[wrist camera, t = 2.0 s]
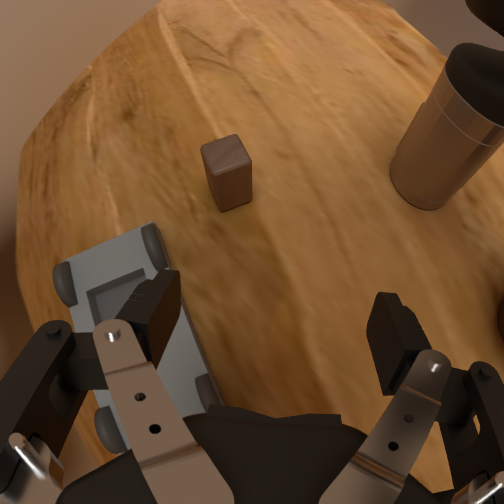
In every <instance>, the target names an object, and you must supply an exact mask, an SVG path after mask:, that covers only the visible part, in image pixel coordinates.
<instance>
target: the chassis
mask: <svg viewBox="0 0 504 504" xmlns="http://www.w3.org/2000/svg"><path fill="white" fill-rule="evenodd" d="M160 269H168V270H173V269H172V266H171V263H170V260H169V257H168V254H167V251H166V248H165V245H164V242H163V239H162V236H161V233H160V230H159V229H158V227H157V226H156V224H155V223H154V221H152V222H150V223H147V224H145V225H143V226H140V227H138V228H135V229H133V230H131V231H128V232H126V233H124V234H121V235H119V236H117V237H115V238H112V239H110V240H108V241H105V242H103V243H101V244H99V245H96V246H94V247H92V248H90V249H88V250H85V251H83V252H81V253H79V254H77V255H74V256H72V257H70V258H68V259H66V260H64V261H62V262H61V263H60V264H58V265H56V266H55V267H54V269H53V282H54V286H55V289H56V291H57V294H58V296H59V297H60V299H61V300H62V302H63V303H64V304H65V305H66V306H67V307H69V308H70V311H71V316H72V320H73V324H74V328H75V332H76V333H79V332H93V330H94V328H95V327H96V326H97V325H98V324H99V323H101V322H103V321H106V320H110V319H114V318H115V317H116V315H117V314H118V313H119V311H120V310H121V308H122V307H123V305H124V304H125V302H126V301H127V300H128V298H129V297H130V295H131V294H132V293H133V291H134V290H135V288H136V287H137V285H138V284H140V283H142V282H143V281H145V280H146V279H151V280H153V279H154V277H155V276H156V274H157V273H158V271H159V270H160ZM156 371H157V373H158V375H159V377H160V379H161V381H162V383H163V385H164V387H165V389H166V391H167V392H168V394H169V396H170V398H171V400H172V402H173V403H174V405H175V407H176V409H177V410H178V412H179V414H180V416H181V417H182V418H183V417H186V416H189V415H193V414H199V413H207V412H208V407H209V404H214V405H221V406H226V405H225V403H224V400H223V398H222V396H221V393H220V391H219V389H218V386H217V384H216V382H215V379H214V377H213V374H212V372H211V370H210V367H209V365H208V362H207V360H206V357H205V355H204V352H203V350H202V347H201V345H200V342H199V340H198V337H197V335H196V332H195V330H194V327H193V324H192V322H191V319H190V316H189V314H188V311H187V308H186V306H185V303H184V300H183V297H182V295H181V312H180V316H179V319H178V321H177V324H176V326H175V328H174V330H173V333H172V335H171V337H170V340H169V342H168V344H167V347H166V349H165V351H164V353H163V356H162V358H161V360H160V363H159V365H158V368H157V370H156ZM93 391H94V394H95V397H96V399H97V402H98V405H99V409H97V410H96V412H95V417H94V421H95V428H96V431H97V434H98V437H99V439H100V441H101V442H102V444H103V445H104V447H105V448H106V449H107V450H108V451H110V452H111V453H113V454H119V455H121V454H123V453H124V452H126V451H128V450H129V449H131V446H130V444H129V441H128V439H127V436H126V434H125V432H124V429H123V427H122V424H121V421H120V419H119V416H118V414H117V411H116V408H115V405H114V403H113V400H112V397H111V394H110V391H109V390H93Z"/></svg>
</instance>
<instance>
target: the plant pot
mask: <svg viewBox="0 0 504 504" xmlns="http://www.w3.org/2000/svg"><path fill="white" fill-rule="evenodd" d="M498 324H499V329H500V333H501V335H502V338H503V339H504V299H503V301H502V303H501V305H500V308H499V314H498Z"/></svg>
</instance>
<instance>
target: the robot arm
mask: <svg viewBox="0 0 504 504" xmlns="http://www.w3.org/2000/svg"><path fill="white" fill-rule="evenodd" d="M465 1H466V4H467V6H468V8H469V10H470V11H471V12H472V13H473V14H474V15H475V16H476V17H477V18H479V19H480V20H481V21H482V22H483V23H485V24H486V25H488V26H489V27H490V28H492V29H493V30H494V31H496V32H498V33H499V34H500V35H502V36H503V37H504V0H465ZM503 142H504V51H498V50H495V49H491V48H488V47H485V46H481V45H478V44H473V43H461V44H459V45H457V46H456V47H455V48H454V49H453V50H452V52H451V54H450V56H449V58H448V60H447V62H446V64H445V66H444V68H443V70H442V72H441V74H440V76H439V78H438V79H437V81H436V83H435V85H434V87H433V89H432V91H431V93H430V95H429V96H428V98H427V100H426V102H424V103H422V104H421V106H420V108H419V109H418V111H417V113H416V115H415V117H414V119H413V120H412V122H411V124H410V126H409V127H408V129H407V131H406V133H405V135H404V136H403V138H402V140H401V141H400V143H399V145H398V147H397V152H396V154H395V156H394V157H393V159H392V161H391V164H390V176H391V179H392V182H393V184H394V186H395V188H396V189H397V191H398V192H399V193H400V195H401V196H402V197H403V198H404V199H405V200H407V201H408V202H409V203H411V204H412V205H414V206H416V207H418V208H421V209H425V210H434V209H438V208H440V207H442V206H443V205H444V204H445V203H446V202H447V201H448V200H449V199H450V198H451V197H452V196H453V195H454V194H455V193H456V192H457V191H458V190H459V189H460V188H461V187H462V186H463V185H464V184H465V183H466V182H467V181H468V180H469V179H470V178H471V177H472V176H473V175H474V174H475V173H476V172H477V171H478V170H479V169H480V168H481V167H482V165H483V164H484V163H485V162H486V161H487V160H488V159H489V158H490V157H491V156H492V155H493V154H494V153H495V151H496V150H497V149H498V148H499V147H500V146H501V145H502V144H503ZM180 312H181V286H180V273H179V271H176V270H168V269H160V270H159V271H158V273H157V274H156V276H155V277H154V279H153V280H151V279H146V280H145V281H143V282H142V283H140V284H138V285H137V287H136V288H135V290H134V291H133V293H132V294H131V295H130V297H129V298H128V300H127V301H126V302H125V304H124V305H123V307H122V308H121V310H120V311H119V313H118V314H117V315H116V317H115V318H114V319H110V320H106V321H103V322H101V323H99V324H98V325H97V326H96V327H95V328H94V330H93V332H79V333H73V331H72V328H71V326H70V324H69V323H67V322H65V321H62V320H53V321H49V322H47V323H45V324H43V325H42V326H41V327H40V328H39V329H38V330H37V331H36V333H35V334H34V335H33V337H32V338H31V339H30V341H29V342H28V343H27V345H26V346H25V348H24V349H23V350H22V352H21V353H20V354H19V356H18V357H17V358H16V360H15V362H14V363H13V364H12V366H11V367H10V368H9V370H8V371H7V373H6V374H5V376H4V377H3V379H2V380H1V381H0V504H444V503H443V502H442V501H440V500H439V499H438V498H437V497H436V496H435V495H433V494H432V493H431V492H430V491H429V490H428V489H427V488H425V487H424V486H423V485H422V484H421V483H420V482H419V481H418V480H416V479H415V478H414V477H413V476H412V475H411V474H410V473H409V472H410V470H411V468H412V466H413V464H414V462H415V460H416V458H417V457H418V455H419V453H420V451H421V449H422V447H423V444H424V442H425V440H426V438H427V436H428V434H429V432H430V429H431V427H432V425H433V423H434V421H437V422H439V426H440V430H441V434H442V437H443V441H444V445H445V449H446V454H447V458H448V462H449V467H450V471H451V476H452V481H453V486H454V491H455V495H454V496H453V498H452V500H451V504H504V384H503V382H502V380H501V378H500V376H499V374H498V372H497V371H496V370H495V368H494V367H492V366H491V365H489V364H488V363H485V362H481V361H478V362H474V363H473V364H472V365H471V366H470V368H469V370H468V371H466V370H461V369H457V368H453V367H451V363H450V361H449V359H448V358H447V357H446V356H445V355H444V354H442V353H440V352H438V351H436V350H433V349H432V347H431V345H430V343H429V341H428V339H427V337H426V335H425V333H424V331H423V330H422V327H421V325H420V323H418V322H419V321H418V319H417V318H416V316H415V314H414V313H413V312H412V311H411V310H410V309H409V308H408V307H407V306H403V305H402V303H401V301H400V299H399V297H398V295H397V294H396V293H386V292H378V294H377V295H376V298H375V301H374V305H373V308H372V311H371V314H370V317H369V320H368V323H367V330H366V334H367V339H368V343H369V346H370V349H371V353H372V356H373V360H374V363H375V367H376V371H377V374H378V378H379V382H380V385H381V389H382V393H383V396H389V395H394V397H393V399H392V401H391V402H390V404H389V405H388V407H387V409H386V410H385V412H384V413H383V415H382V416H381V418H380V419H379V421H378V422H377V424H376V425H375V427H374V428H373V430H372V431H371V433H370V434H369V436H368V435H366V434H365V433H363V432H361V431H360V430H358V429H356V428H353V427H351V426H348V425H344V424H342V422H341V414H304V415H298V416H291V417H284V418H272V417H269V416H265V415H262V414H259V413H256V412H252V411H249V410H246V409H243V408H237V407H229V406H221V405H214V404H209V407H208V412H207V413H199V414H193V415H189V416H186V417H183V418H182V417H181V416H180V414H179V412H178V410H177V409H176V407H175V405H174V403H173V402H172V400H171V398H170V396H169V394H168V392H167V391H166V389H165V387H164V385H163V383H162V381H161V379H160V377H159V375H158V373H157V371H156V370H157V368H158V365H159V363H160V360H161V358H162V356H163V353H164V351H165V349H166V347H167V344H168V342H169V340H170V337H171V335H172V333H173V330H174V328H175V326H176V324H177V321H178V319H179V316H180ZM88 390H109V391H110V394H111V397H112V400H113V403H114V405H115V408H116V411H117V414H118V416H119V419H120V421H121V424H122V427H123V429H124V432H125V434H126V436H127V439H128V441H129V444H130V446H131V449H129V450H128V451H126V452H124V453H123V454H121V455H119V456H118V457H116V458H114V459H113V460H111V461H109V462H107V463H106V464H104V465H102V466H100V467H99V468H97V469H96V470H93V471H92V472H90V473H88V474H86V475H84V476H82V477H80V478H79V479H77V480H75V481H73V482H72V483H70V484H69V485H68V486H66V487H65V488H64V489H63V477H64V470H63V467H62V465H61V463H60V462H59V460H58V457H59V455H60V452H61V450H62V448H63V445H64V443H65V441H66V438H67V436H68V434H69V432H70V429H71V427H72V425H73V423H74V420H75V418H76V416H77V414H78V412H79V409H80V407H81V405H82V403H83V401H84V399H85V397H86V394H87V392H88ZM475 415H477V418H478V420H479V423H480V433H479V435H478V432H477V429H476V426H475V423H474V420H473V418H474V416H475Z"/></svg>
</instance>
